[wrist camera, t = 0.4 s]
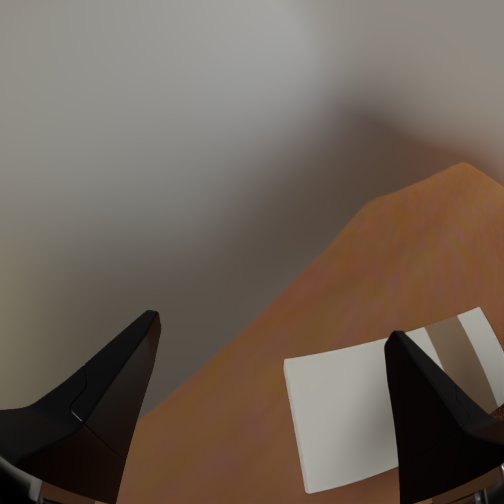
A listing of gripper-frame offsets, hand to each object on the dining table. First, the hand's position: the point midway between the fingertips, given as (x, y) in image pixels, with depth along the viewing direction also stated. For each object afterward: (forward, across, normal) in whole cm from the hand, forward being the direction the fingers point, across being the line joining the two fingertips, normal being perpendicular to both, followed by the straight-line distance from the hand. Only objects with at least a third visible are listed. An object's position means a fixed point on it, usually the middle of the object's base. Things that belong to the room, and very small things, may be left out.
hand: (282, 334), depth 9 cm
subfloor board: (+3, -16, +12) cm, 20 cm away
